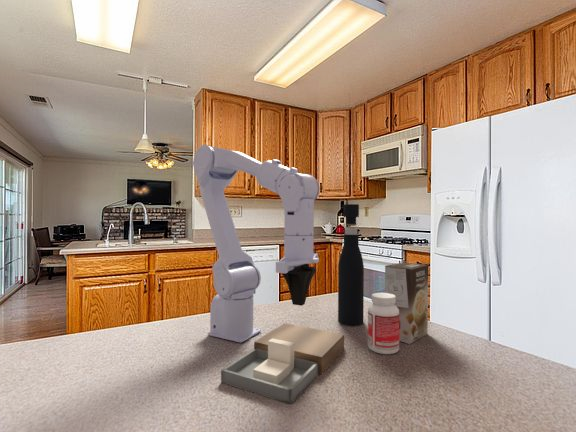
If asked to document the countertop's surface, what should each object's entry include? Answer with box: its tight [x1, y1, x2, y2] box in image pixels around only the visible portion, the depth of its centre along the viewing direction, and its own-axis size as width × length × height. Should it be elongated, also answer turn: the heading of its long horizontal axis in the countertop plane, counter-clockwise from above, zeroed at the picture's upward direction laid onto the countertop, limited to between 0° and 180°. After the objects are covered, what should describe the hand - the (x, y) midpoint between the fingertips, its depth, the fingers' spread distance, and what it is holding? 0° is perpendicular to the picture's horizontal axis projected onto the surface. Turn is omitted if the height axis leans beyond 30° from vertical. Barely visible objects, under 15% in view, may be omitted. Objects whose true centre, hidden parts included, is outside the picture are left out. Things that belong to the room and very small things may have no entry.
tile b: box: [253, 359, 290, 385], centre depth 55 cm, size 4×4×2 cm
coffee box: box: [384, 262, 429, 345], centre depth 75 cm, size 9×6×16 cm
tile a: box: [268, 338, 294, 372], centre depth 58 cm, size 4×4×2 cm
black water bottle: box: [337, 203, 365, 327], centre depth 84 cm, size 6×6×30 cm
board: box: [253, 322, 345, 375], centre depth 65 cm, size 14×12×3 cm
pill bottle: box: [367, 292, 400, 355], centre depth 67 cm, size 6×6×11 cm
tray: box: [220, 348, 319, 405], centre depth 55 cm, size 13×10×2 cm
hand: (298, 304), depth 64 cm, fingers closed
